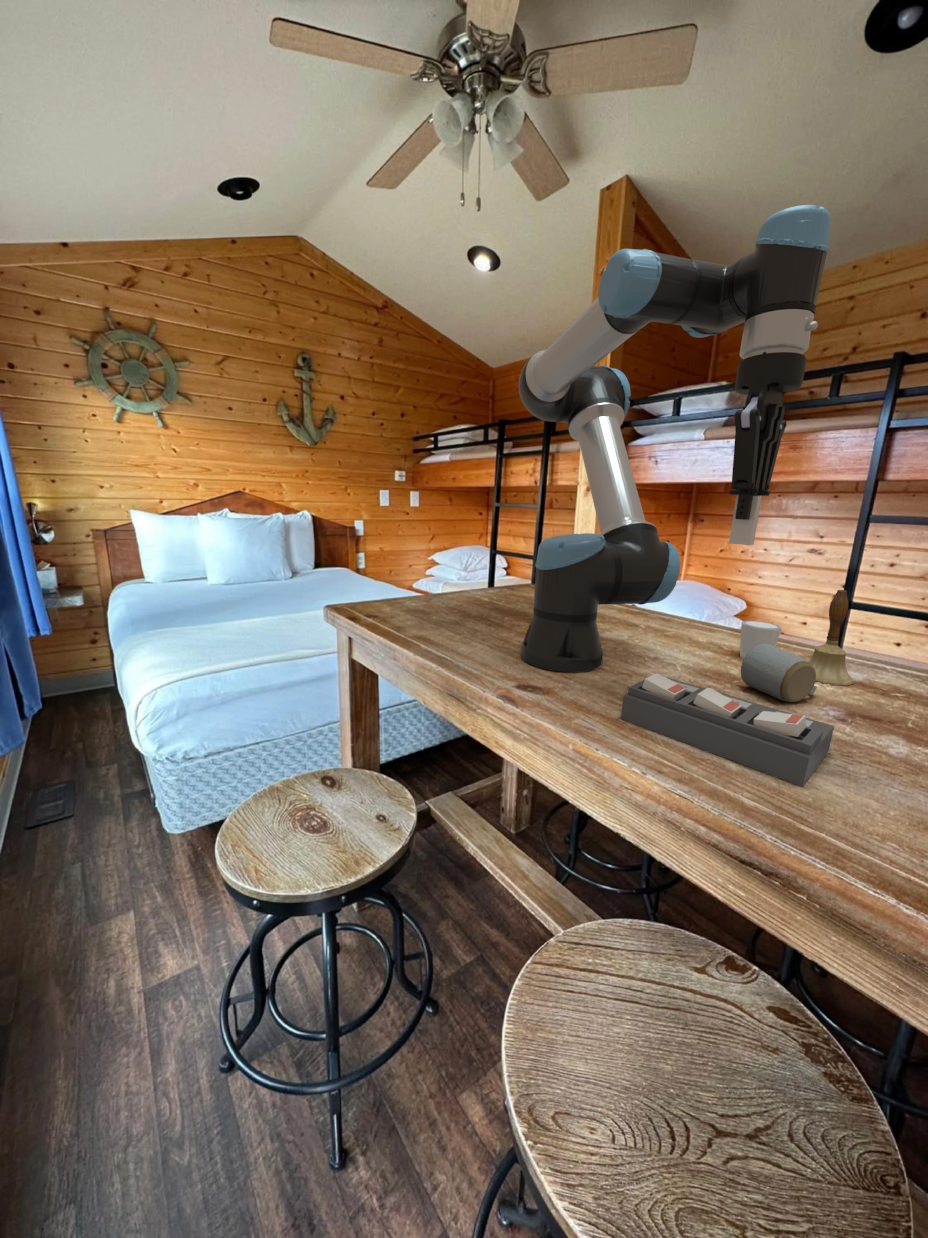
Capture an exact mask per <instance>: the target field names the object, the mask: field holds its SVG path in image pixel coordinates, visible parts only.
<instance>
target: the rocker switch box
mask: <svg viewBox="0 0 928 1238" xmlns="http://www.w3.org/2000/svg"><path fill="white" fill-rule="evenodd" d="M665 677H666V678H668V679H670V680H672V681H674V682H676V683H678V684H679V685H681V686H683V687H685V688H687V689H686V691H685V694H684V696H683V697H682V698H680V699H679V700H677V701H676V700H673V699H669V698H666V697H663V696H660V695H657V694H654V693H651V692H649V691H647V690H645V689H643V688H642V686H643V683H644V680H645V679H643V680H641V681H638V682H636V683H634V684H632V685H630V686H628V687H627V693H625V694H623V695H622V703H621V711H620V719H621V720H622V721H623V720H624V721H626V722H628V723H631V724H633V725H636V726H639V727H641V728H644V729H647V730H649V731H652V732H655V733H658V734H661V735H663V736H666V737H668V738H670V739H674V740H677V741H679V742H682V743H684V744H686V745H690V746H691V747H692V746H693V747H695V748H698V749H700V750H702V751H706V752H708V753H710V754H713V753H714V754H713V755H716V754H717V756H719V757H722V758H725V759H726V760H729V759H731V760H730V761H732V760H733V762H735V763H737V762H738V764H740V765H742V766H745V767H749V768H751V769H754V770H756V771H759V772H761V773H764V774H767V775H770V776H773V777H775V778H778V779H781V780H783V781H786V782H789V783H791V784H794V785H797V786H799V787H801V788H803V787H804V786H805V785H806V784H807V782H808V780H809V779H810V778H811V777H812V775H813V774H814V773H815V771H816V769H817V768H818V767H819V765H820V764H821V762H822V761H823V759H824V758H825V757H826V755H827V754H828V753H829V750H830V747H831V742H832V738H833V733H834V729H835V725H833V724H829V723H826V722H823V721H819V720H814V719H812V718H808V717H806V728H805V729H804V730H803V732H802V733H801V734H800V735H799V736H798V737H795V736H788V735H782V734H779V733H776V732H773V731H770V730H767V729H764V728H760V727H757V726H754V720H753V719H754V718H755V717H757V716H758V715H759V714H760V713H761V712H763V711H768V712H777V713H786V714H792V713H791V712H788V711H784V710H780V709H778V708H774V707H770V706H768V705H767V706H766V705H763V704H760V703H757V702H753V701H749V700H746V699H742V698H739V697H736V696H732V695H728V694H726V693H722V692H718V691H717V692H718V693H720V694H722V695H724V696H726V697H728V698H729V699H731V700H733V701H735V702H737V703H739V704H740V705H742V706H741V708H740V710H739V712H738V714H737V715H736V716H735V717H733V718H729V717H726V716H723V715H720V714H717V713H713V712H710V711H707V710H704V709H703V708H701V707H699V706H697V705H696V704H694V703H693V702H694V700H695V698H696V696H697V694H698V693H700V692H702V691H703V690H705V689H706V688H705V687H701V686H697V685H695V684H691V683H687V682H684V681H681V680H676V679H675V678H671V677H667V676H665Z"/></svg>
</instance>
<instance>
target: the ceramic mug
mask: <svg viewBox="0 0 928 1238" xmlns="http://www.w3.org/2000/svg"><path fill="white" fill-rule="evenodd" d="M740 678H741V680H742V682H743V683H744V684H745V685H747V686H749V688H753V689H754V690H757V691H759V692H761V693H763V694H764V693H765V694H767V695H769V696H771V697H773V698H775V699H778V700H780V701H783V702H785V703H786V702H787V703H798V702H799V701H802V700H803V699H805V698H806V697H807V696H808V695H809V696H813V695H814V694H815V692H816V691H817V686H816V685H815V684H816V682H815V681H816V671H815V668H814V667H813V665H812V664H811V663H809V660H806V659H805V658H803V657H800V656H799V655H795V654H793V653H791V652H789V651H786V650H785V649H781V648H779V647H777V646H776V647H775V646H773V645H771V644H766V643H763V644H759V645H757V646H755V647H753V648H752V649H751V650H750V651H749V652H748V653H747V655H746V656H745V658H744V659H743V660H742V662H741V665H740Z"/></svg>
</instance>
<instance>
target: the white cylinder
mask: <svg viewBox="0 0 928 1238" xmlns="http://www.w3.org/2000/svg"><path fill="white" fill-rule="evenodd" d="M740 628H741V629H740V639H739V642H740V643H739V653H740V656H742V657H744V658H745V656H746V655H747V653H748V652H749V651H750V650H751V649H752V648H753V647H755V646H757V645H759V644H763V643H766V644H771V645H773V646H775V647H777V644H778V641H779V637H780V635H781V631H782V626H780V625H778V624H775V623H773V622H766V621H761V620H742V621H741V627H740Z"/></svg>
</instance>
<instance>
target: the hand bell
mask: <svg viewBox="0 0 928 1238" xmlns="http://www.w3.org/2000/svg"><path fill="white" fill-rule="evenodd" d="M847 592H848V591H847V590H843V589H838V590H836V593H835V595H834V596H833V598H832V600H831V601H830V604H829V609H828V620H829V628H828V632H827V635H826V642H825V643H824V644H819V645H817V646H815V648H814V651H813V653H812V655H811V658H810V659H809V660H808V662H809V663H811V664H812V665H813V667H814V668H815V671H816V682H815V683H818V682H819V684H823V683H825V684H824V685H828V684H830V685H829V686H836V685H837V686H839V687H840V686H841V687H843V686H844V687H847V686H851V685H853V684H854V680H853V678H852V676H851V675H850V673H848V671H847V667H846V657H847V656H846V654H847V652H846V650H844V648H843V649H842V648H841V647H840V646H839V637H840V632H841V626H842V625H843V622H844V621H845V618H846V617H847V614H848V610H849V599H848V594H847Z"/></svg>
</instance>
